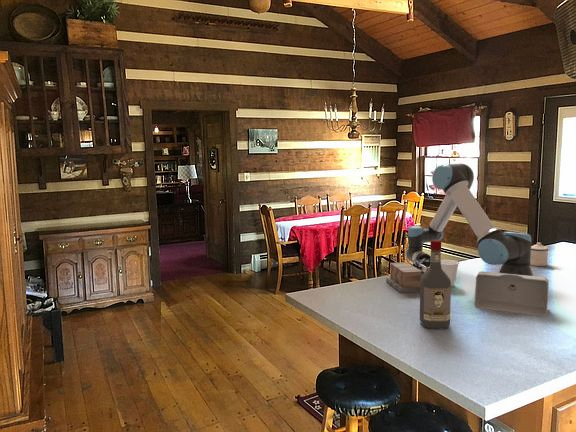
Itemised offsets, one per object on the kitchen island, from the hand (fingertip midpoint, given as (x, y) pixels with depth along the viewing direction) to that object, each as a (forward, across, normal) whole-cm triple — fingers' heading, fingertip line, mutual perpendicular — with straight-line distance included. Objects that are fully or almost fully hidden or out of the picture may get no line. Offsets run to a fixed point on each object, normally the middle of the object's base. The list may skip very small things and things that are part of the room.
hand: (439, 269), depth 219 cm
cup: (+7, 0, -6) cm, 10 cm away
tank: (+39, -12, -6) cm, 41 cm away
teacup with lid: (-24, -63, -6) cm, 68 cm away
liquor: (+54, +25, -6) cm, 60 cm away
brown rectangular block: (+5, +18, -6) cm, 20 cm away
